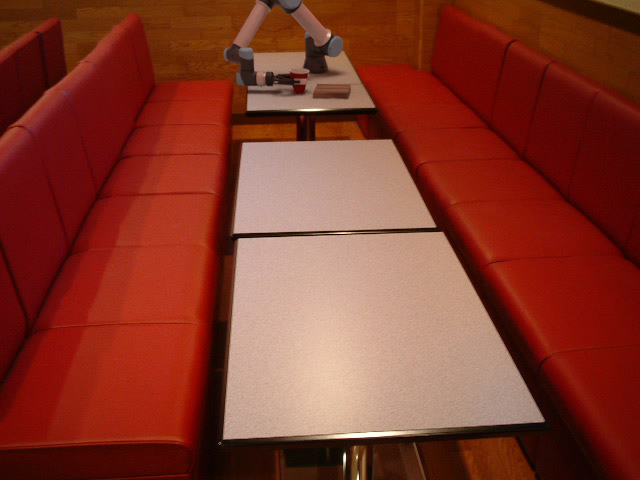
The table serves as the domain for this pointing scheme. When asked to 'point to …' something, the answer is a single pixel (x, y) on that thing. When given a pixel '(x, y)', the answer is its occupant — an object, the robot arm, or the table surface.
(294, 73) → the plastic cup
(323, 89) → the walnut stand
